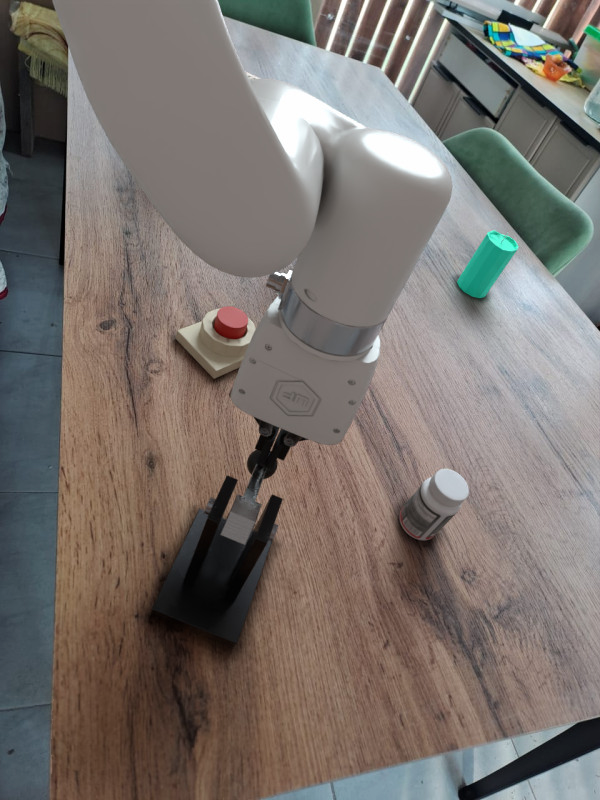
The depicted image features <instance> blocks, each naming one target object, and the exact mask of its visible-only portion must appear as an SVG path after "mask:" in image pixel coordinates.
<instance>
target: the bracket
mask: <svg viewBox="0 0 600 800" xmlns="http://www.w3.org/2000/svg"><path fill="white" fill-rule="evenodd" d="M238 481H239V480H238V479H237V478H234V477H232V476H230V475H225V478H224V480H223V482H222V485H221V486H220V489H219V491H218V493H217V496H216V498H215V497H212V496H210V498H209V499H208V501H207V504H206V505H205V509H202V508H198V511H197V512H196V515H195V517H194V519H193V521H192V523H191V525H190V528H189V530H188V532H187V533H186V536H185V538H184V539H183V542H182V544H181V546H180V549H179V551H178V553H177V555H176V557H175V559H174V561H173V563H172V565H171V567H170V570H169V572H168V574H167V575H166V578H165V580H164V582H163V584H162V586H161V588H160V591H159V593H158V594H157V597H156V599H155V601H154V603H153V604H152V605H153V606H152V608H151V610H150V615H151V616H153V617H156V618H158V619H161V620H164V621H165V622H168V623H171V624H173V625H176V626H178V627H181V628H183V629H186V630H188V631H191V632H193V633H196V634H197V635H200V636H203V637H205V638H208V639H211V640H213V641H215V642H218V643H220V644H223V645H224V646H228V647H229V648H233V649H235V648H236V646H237V645H238V643H239V639H240V636H241V634H242V631H243V628H244V625H245V622H246V621H247V617H248V613H249V611H250V607H251V605H252V602H253V599H254V596H255V593H256V590H257V588H258V584H259V581H260V578H261V576H262V572H263V570H264V567H265V563H266V561H267V558H268V555H269V552H270V549H271V546H272V543H273V541H274V539H275V536H276V534H277V532H278V530H279V524H278V523H277V524H276V520H277V517H278V515H279V512H280V509H281V506H282V503H283V499H284V498H282V497H280V496H278V495H275V494H273V493H271V495H270V496H269V499H268V501H267V503H266V504H265V506H264V509H263V510H262V513H261V515H260V517H259V518H258V519H257V521H256V523H255V525H254V527H253V530H252V532H251V534H250V536H249V538H248V541H247V543H246V545H243V544H241V543H239V542H236V541H234V540H231V539H229V538H227V537H224V536H222V535H220V534H221V531H222V529H223V526H224V524H225V522H226V519H227V518H223V517H224V515H225V512H226V510H227V507H228V505H229V503H230V500H231V498H232V496H233V493H234V490H235V488H236V486H237V483H238Z"/></svg>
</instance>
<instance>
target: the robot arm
mask: <svg viewBox="0 0 600 800" xmlns="http://www.w3.org/2000/svg"><path fill="white" fill-rule="evenodd" d="M51 1H52V5H53V7H54V10H55V13H56V16H57V19H58V21H59V24H60V27H61V30H62V32H63V35H64V39H65V41H66V44H67V46H68V49H69V53H70V56H71V58H72V61H73V63H74V66H75V70H76V72H77V75H78V78H79V81H80V83H81V85H82V87H83V90H84V93H85V95H86V98H87V100H88V102H89V105H90V107H91V109H92V111H93V113H94V115H95V117H96V119H97V121H98V123H99V125H100V126H101V129H102V130H103V132H104V134H105V135H106V138H107V139H108V141H109V142H110V144H111V146H112V148H113V149H114V151H115V152H116V154H117V156H118V157H119V158H120V160H121V161H122V163H123V165H124V166H125V167H126V169H127V170H128V172H129V173H130V174H131V177H132V178H133V180H134V181H135V182H136V183H137V184H138V186H139V187H140V189H141V190H142V191H143V193H144V195H145V196H146V197H147V199H148V201H150V203H151V205H152V206H153V207H154V208H155V210H156V211H157V212H158V214H159V216H161V218H162V219H163V221H164V222H165V223H166V225H167V226H168V227H169V228H170V230H171V231H172V232H173V234H174V235H175V236H176V237H177V238H178V239H179V240H180V241H181V242H182V243H183V244H184V246H186V247H187V248H188V250H190V251H191V252H192V253H193V254H194V255H195V256H196V257H197V258H199V259H200V260H202V261H203V262H204V263H205V264H207V265H209V266H210V267H212V268H214V269H216V270H218V271H220V272H222V273H225V274H228V275H231V276H234V277H240V278H247V279H251V278H252V279H253V278H262V277H267V276H268V278H267V280H266V284H265V288H269V289H270V290H273V291H274V293H275V294H276V295H278V296H276V297H275V299H274V300H273V301H272V302H271V304H270V305H269V306H268V308H267V309H266V310H265V312H264V313H263V315H262V317H261V318H260V320H259V322H258V323H257V326H256V327H255V328H256V330H255V332H254V334H253V336H252V338H251V341H250V343H249V345H248V348H247V350H246V353H245V355H244V358H243V360H242V363H241V365H240V367H239V368H238V371H237V373H236V376H235V379H234V381H233V384H232V387H231V389H230V391H229V392H228V397H229V398H230V401H231V403H232V404H233V406H235V407H236V408H237V409H238V410H240V411H241V412H243V413H245V414H246V415H249V416H251V417H252V418H253V419H254V420H255V422H256V423H257V425H258V426H259V427H258V433H259V437H258V440H257V442H256V444H255V447H254V450H259V451H261V454H260V456H259V459H258V461H257V464H259V465H262V464H263V465H264V464H265V462H266V459H267V457H268V455H269V453H270V451H271V453H270V456H269V458H268V461H267V463H266V466H267V468H269V469H271V470H272V469H273V467H274V464H275V462H276V460H277V461H278V459H279V460H281V461H283V462H285V459H286V458H287V456H288V453H289V451H290V449H291V448H293V447H295V446H296V445H297V444H298V443H299V442H304V441H311V442H313V443H317V444H320V445H324V446H335V445H336V446H337V445H338V444H340V443H342V442H343V440H344V438H345V436H346V434H347V433H348V431H349V429H350V428H351V425H352V423H353V421H354V419H355V417H356V415H357V413H358V412H359V409H360V407H361V405H362V403H363V401H364V398H365V396H366V395H367V391H369V388H370V385H371V383H372V380H373V378H374V375H375V371H376V369H377V365H378V362H379V358H380V353H381V337H380V335H379V334H380V332H381V331H382V329H383V328H384V324H386V321H387V320H388V318H389V316H390V314H391V312H392V310H393V308H394V307H395V305H396V303H397V301H398V299H399V297H400V296H401V294H402V292H403V290H404V288H405V286H406V285H407V283H408V281H409V279H410V277H411V275H412V274H413V272H414V269H415V268H416V266H417V264H418V263H419V260H420V258H421V257H422V255H423V253H424V251H425V250H426V247H427V246H428V243H429V242H430V240H431V238H432V236H433V235H434V233H435V231H436V229H437V227H438V225H439V224H440V221H441V220H442V218H443V216H444V214H445V211H446V210H447V208H448V206H449V204H450V201H451V197H452V194H453V179H452V175H451V172H450V171H449V169H448V167H447V165H446V164H445V163H444V161H443V160H442V158H440V157H439V156H438V155H437V154H435V152H433V151H432V150H431V149H429V148H428V147H426V146H425V145H423V144H421V143H420V142H418V141H416V140H414V139H412V138H409V137H408V136H405V135H402V134H400V133H397V132H393V131H389V130H384V129H380V128H370V127H368V126H366V125H364V124H363V123H361V122H359V121H357V120H355V119H353V118H351V117H350V116H348V115H347V114H345V113H343V112H341V111H340V110H338V109H336V108H334V107H333V106H331V105H329V104H328V103H326V102H324V101H323V100H321V99H319V98H318V97H316V96H315V95H313V94H311V93H310V92H308V91H306V90H304V89H303V88H300V87H298V86H296V85H294V84H292V83H289V82H287V81H283V80H279V79H275V78H269V77H266V78H261V77H259V78H260V79H253V80H249V78H248V76H247V74H246V72H247V71H246V70H245V67H244V65H243V62H242V61H241V58H240V56H239V54H238V51H237V49H236V47H235V44H234V41H233V39H232V36H231V34H230V31H229V28H228V26H227V23H226V21H225V18H224V15H223V13H222V9H221V6H220V2H219V0H51ZM294 261H295V263H294V265H293V269H292V270H291V269H289V271H288V272H287V273H286V272H284V271H282V270H284V269H285V268H287V267H288V266H289V265H290V264H292V263H293V262H294ZM280 271H282V272H280Z"/></svg>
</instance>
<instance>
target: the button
mask: <svg viewBox="0 0 600 800" xmlns="http://www.w3.org/2000/svg"><path fill="white" fill-rule="evenodd" d="M220 308H221V309H219V310H218V312H217V316H216V320H215V323H214V329H215V331H216V332H217V333H218V334H219V335H220V336H222V337H225V338H227V339H239V338H241V337H242V336H243V335H244V333H245V330H246V327H247V324H248V318H249V316H248V315H247V313H245V311H244V310H242V309H240V308H238V307H235V306H229V305H228V306H227V305H226V306H223V307H220Z"/></svg>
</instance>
